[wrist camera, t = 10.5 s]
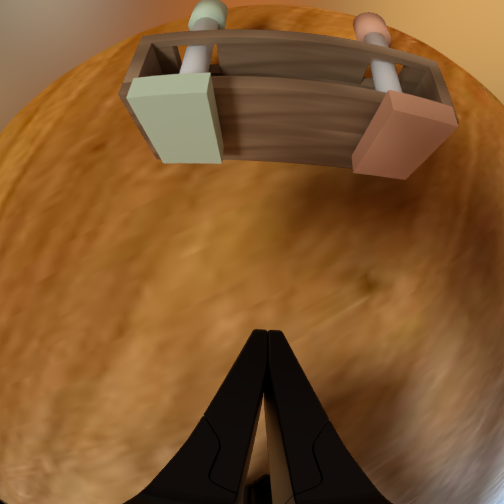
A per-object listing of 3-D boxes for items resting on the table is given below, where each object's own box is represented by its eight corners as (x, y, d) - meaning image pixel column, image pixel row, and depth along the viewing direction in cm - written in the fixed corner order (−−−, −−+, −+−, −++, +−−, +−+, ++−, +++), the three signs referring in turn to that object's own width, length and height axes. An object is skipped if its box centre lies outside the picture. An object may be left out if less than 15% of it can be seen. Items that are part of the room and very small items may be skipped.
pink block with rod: (405, 179, 21) (458, 126, 13) (353, 172, 21) (393, 110, 14) (379, 57, 24) (404, -1, 16) (337, 49, 24) (354, -14, 16)
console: (406, 176, 25) (458, 122, 16) (156, 159, 25) (118, 94, 16) (396, 122, 26) (436, 61, 17) (169, 105, 26) (142, 36, 17)
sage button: (221, 163, 22) (206, 92, 14) (163, 163, 22) (126, 98, 14) (237, 41, 24) (233, -25, 16) (192, 42, 24) (179, -21, 17)
